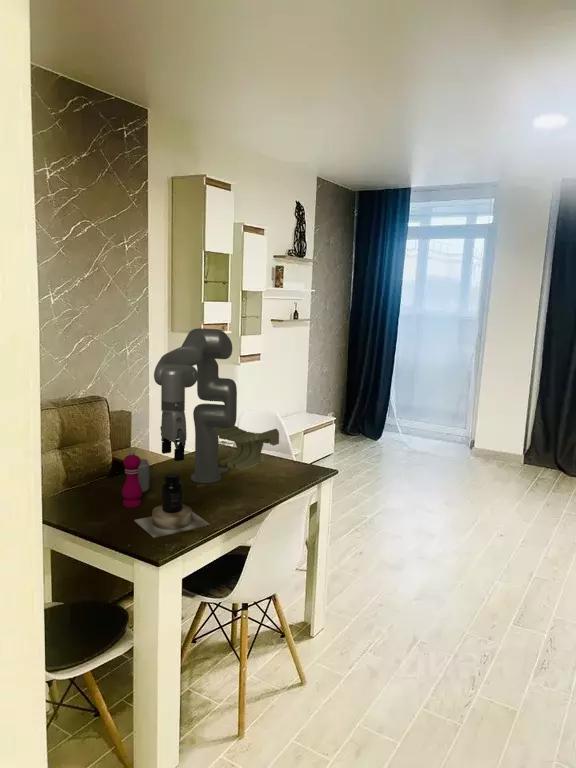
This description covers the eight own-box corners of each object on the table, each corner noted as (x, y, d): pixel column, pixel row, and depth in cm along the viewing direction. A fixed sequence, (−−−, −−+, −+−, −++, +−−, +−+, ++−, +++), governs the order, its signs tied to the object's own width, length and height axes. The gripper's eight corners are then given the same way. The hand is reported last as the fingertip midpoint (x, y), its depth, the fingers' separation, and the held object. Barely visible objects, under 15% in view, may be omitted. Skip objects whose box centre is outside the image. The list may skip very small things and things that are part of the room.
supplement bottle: (184, 506, 204) (184, 472, 202) (180, 514, 198) (180, 479, 196) (164, 505, 204) (164, 471, 203) (159, 513, 198) (159, 478, 196)
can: (125, 491, 230) (125, 461, 228) (138, 486, 237) (138, 456, 235) (140, 495, 227) (140, 464, 225) (153, 489, 234) (153, 459, 232)
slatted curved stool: (278, 465, 271) (279, 427, 268) (257, 474, 258) (258, 433, 255) (226, 453, 287) (227, 417, 284) (204, 461, 274) (204, 423, 271)
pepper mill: (144, 506, 216) (144, 452, 212) (124, 509, 212) (124, 454, 209) (139, 499, 222) (139, 447, 219) (119, 502, 218) (119, 449, 215)
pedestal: (188, 510, 214) (188, 497, 213) (209, 525, 201) (210, 512, 200) (134, 521, 202) (134, 508, 201) (153, 537, 189) (153, 524, 189)
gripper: (195, 409, 190) (195, 461, 193) (172, 400, 204) (172, 449, 207) (173, 412, 186) (173, 465, 189) (151, 402, 200) (151, 451, 203)
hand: (172, 456), depth 198 cm, fingers open, 9 cm apart
